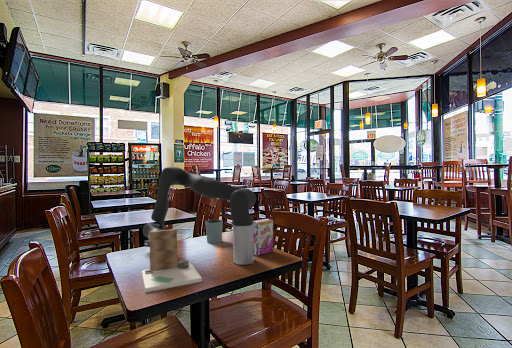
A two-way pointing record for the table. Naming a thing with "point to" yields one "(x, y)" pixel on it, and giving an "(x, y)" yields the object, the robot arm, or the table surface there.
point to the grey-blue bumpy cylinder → (214, 231)
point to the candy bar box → (263, 236)
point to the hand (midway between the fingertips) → (161, 246)
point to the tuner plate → (170, 278)
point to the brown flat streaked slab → (164, 251)
